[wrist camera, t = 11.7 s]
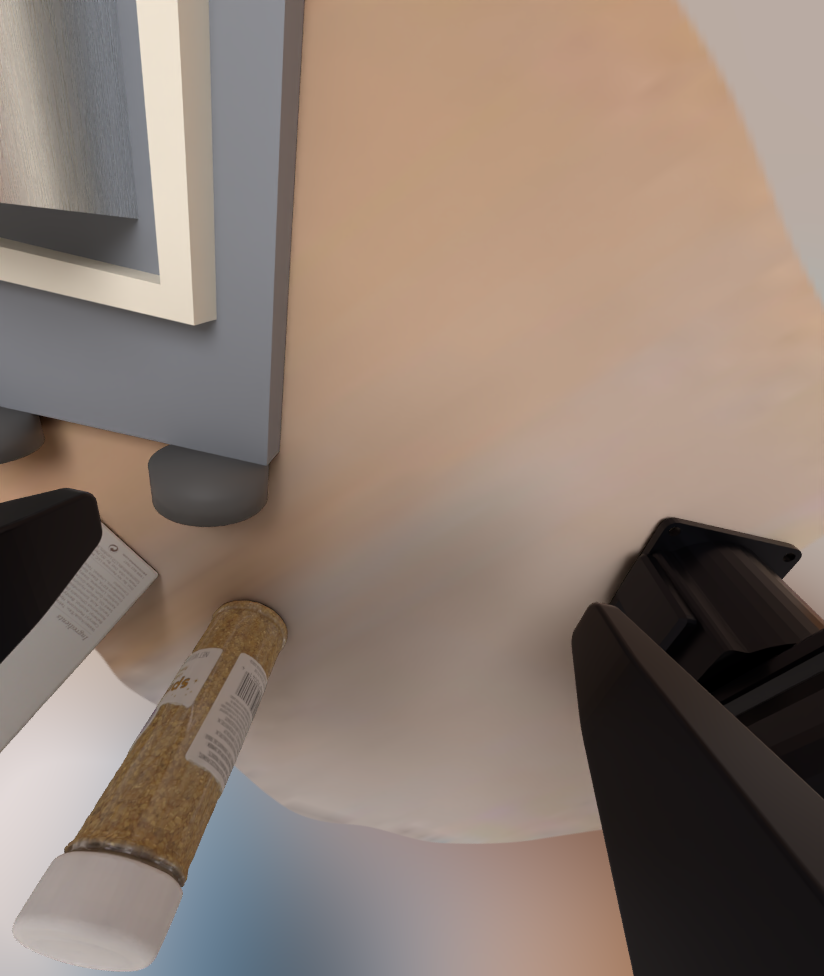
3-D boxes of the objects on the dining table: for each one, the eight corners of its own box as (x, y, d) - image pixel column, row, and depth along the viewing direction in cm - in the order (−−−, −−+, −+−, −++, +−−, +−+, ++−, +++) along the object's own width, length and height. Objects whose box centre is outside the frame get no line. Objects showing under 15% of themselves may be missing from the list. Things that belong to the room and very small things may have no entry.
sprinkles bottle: (213, 590, 24) (-19, 920, 12) (292, 605, 24) (139, 947, 12) (217, 643, 26) (27, 964, 14) (289, 656, 26) (159, 986, 14)
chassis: (358, -762, 7) (254, -1938, 3) (281, 482, 20) (241, 537, 16) (-530, -1065, 7) (-1896, -2911, 3) (-26, 413, 19) (-145, 453, 15)
